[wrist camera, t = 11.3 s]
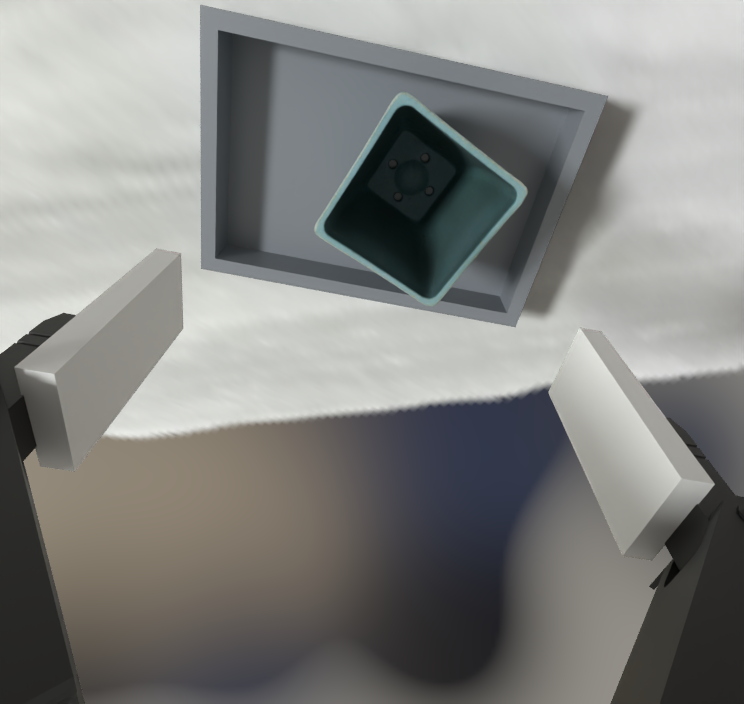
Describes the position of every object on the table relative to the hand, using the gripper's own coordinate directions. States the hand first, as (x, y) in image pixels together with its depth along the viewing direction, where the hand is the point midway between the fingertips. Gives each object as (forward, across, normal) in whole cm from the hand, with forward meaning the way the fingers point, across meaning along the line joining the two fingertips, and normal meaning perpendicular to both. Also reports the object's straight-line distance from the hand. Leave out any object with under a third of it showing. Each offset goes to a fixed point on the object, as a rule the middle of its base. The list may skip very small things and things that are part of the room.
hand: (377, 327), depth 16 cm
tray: (+23, 0, 0) cm, 23 cm away
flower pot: (+22, -2, 0) cm, 22 cm away
